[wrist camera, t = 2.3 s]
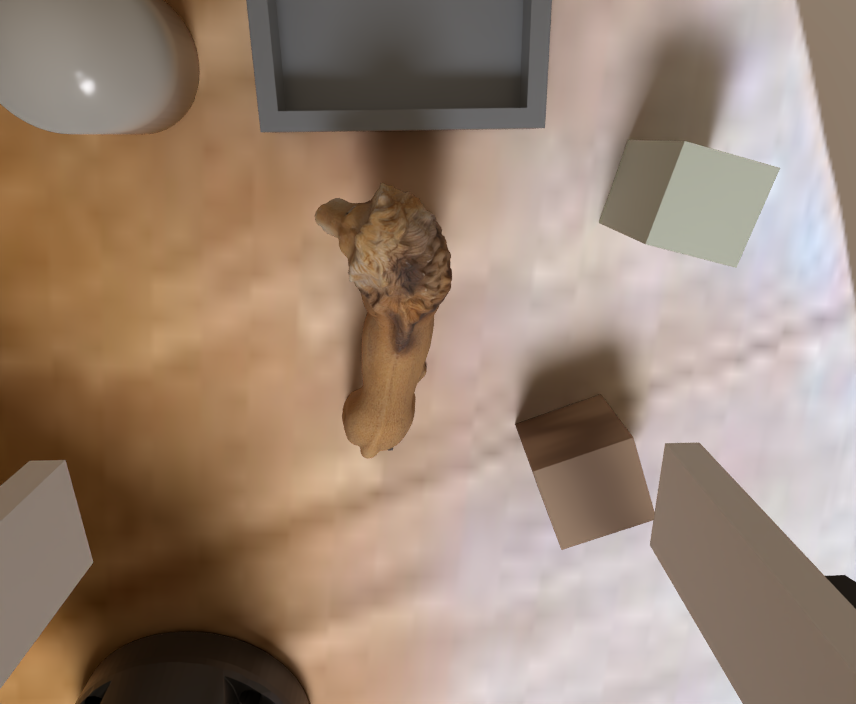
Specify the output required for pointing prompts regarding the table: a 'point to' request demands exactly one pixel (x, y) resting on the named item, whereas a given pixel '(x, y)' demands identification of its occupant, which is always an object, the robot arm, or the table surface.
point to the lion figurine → (389, 306)
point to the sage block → (688, 198)
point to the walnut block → (586, 471)
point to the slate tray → (400, 64)
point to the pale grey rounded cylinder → (96, 65)
